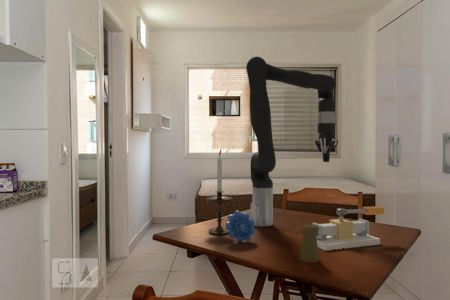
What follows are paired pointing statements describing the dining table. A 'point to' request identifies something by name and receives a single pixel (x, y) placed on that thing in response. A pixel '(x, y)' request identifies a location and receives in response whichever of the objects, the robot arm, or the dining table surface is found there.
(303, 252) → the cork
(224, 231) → the candlestick
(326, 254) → the dining table surface
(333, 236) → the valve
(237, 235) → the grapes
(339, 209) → the lever
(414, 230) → the dining table surface
